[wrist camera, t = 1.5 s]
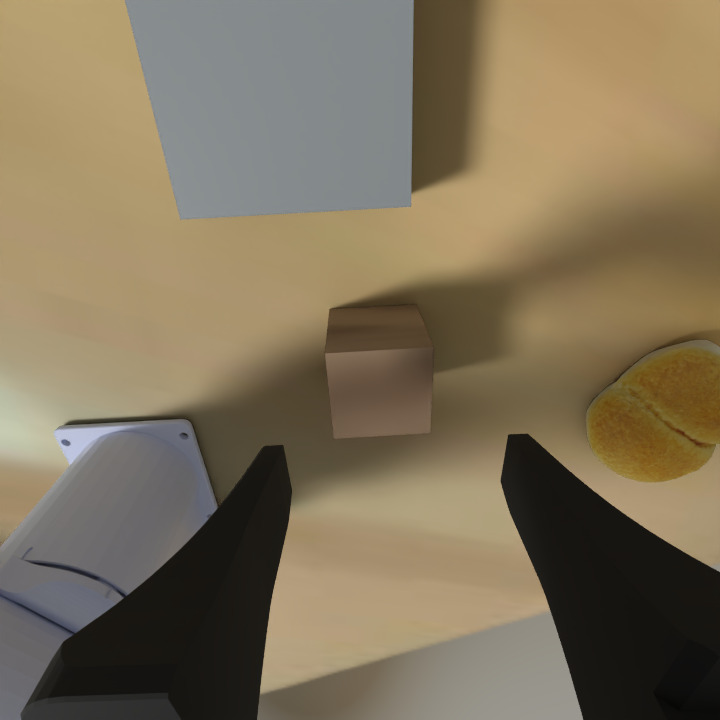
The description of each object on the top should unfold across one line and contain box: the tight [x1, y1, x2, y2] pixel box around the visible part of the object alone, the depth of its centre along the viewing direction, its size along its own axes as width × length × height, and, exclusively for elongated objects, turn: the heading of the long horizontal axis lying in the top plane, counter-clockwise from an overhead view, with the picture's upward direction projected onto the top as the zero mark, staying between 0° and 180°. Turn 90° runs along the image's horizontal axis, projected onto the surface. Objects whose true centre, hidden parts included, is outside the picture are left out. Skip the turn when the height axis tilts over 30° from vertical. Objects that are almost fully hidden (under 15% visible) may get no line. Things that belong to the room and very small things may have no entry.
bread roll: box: [586, 340, 720, 482], centre depth 23 cm, size 8×9×4 cm
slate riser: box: [125, 0, 414, 220], centre depth 15 cm, size 9×9×3 cm
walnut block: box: [325, 304, 434, 439], centre depth 20 cm, size 4×4×5 cm
